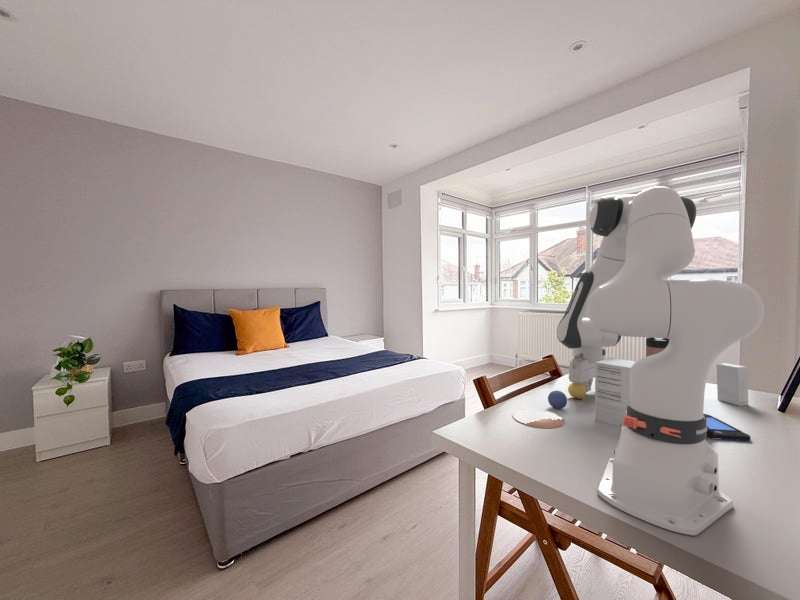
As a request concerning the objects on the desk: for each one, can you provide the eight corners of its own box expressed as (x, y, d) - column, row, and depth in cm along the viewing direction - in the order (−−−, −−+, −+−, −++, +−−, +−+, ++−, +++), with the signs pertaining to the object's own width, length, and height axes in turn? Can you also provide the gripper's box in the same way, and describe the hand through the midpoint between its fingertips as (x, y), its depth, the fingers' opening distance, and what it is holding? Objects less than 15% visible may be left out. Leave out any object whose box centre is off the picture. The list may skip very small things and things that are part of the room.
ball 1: (562, 412, 100) (562, 394, 100) (544, 408, 104) (544, 390, 104) (570, 408, 103) (570, 391, 103) (553, 403, 108) (553, 387, 107)
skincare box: (749, 405, 104) (749, 366, 103) (738, 406, 103) (738, 367, 102) (725, 398, 110) (726, 362, 109) (715, 399, 109) (716, 363, 108)
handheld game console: (754, 443, 79) (754, 405, 79) (689, 439, 82) (690, 402, 82) (707, 418, 95) (708, 386, 94) (654, 415, 97) (655, 384, 97)
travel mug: (661, 403, 106) (661, 341, 106) (639, 395, 114) (639, 338, 113) (680, 401, 108) (681, 340, 107) (657, 393, 115) (658, 337, 115)
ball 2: (582, 402, 109) (582, 385, 108) (565, 398, 113) (565, 382, 113) (589, 398, 112) (589, 382, 112) (572, 394, 116) (572, 379, 116)
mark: (549, 433, 86) (549, 432, 86) (502, 417, 97) (502, 416, 97) (573, 419, 95) (573, 418, 95) (528, 406, 106) (528, 405, 106)
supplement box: (608, 412, 100) (608, 356, 99) (645, 422, 92) (645, 362, 92) (594, 420, 94) (594, 361, 93) (631, 431, 87) (631, 367, 86)
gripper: (583, 357, 107) (583, 399, 107) (608, 349, 120) (607, 387, 120) (563, 354, 112) (563, 395, 112) (589, 347, 125) (589, 383, 125)
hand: (586, 391), depth 116 cm, fingers closed
